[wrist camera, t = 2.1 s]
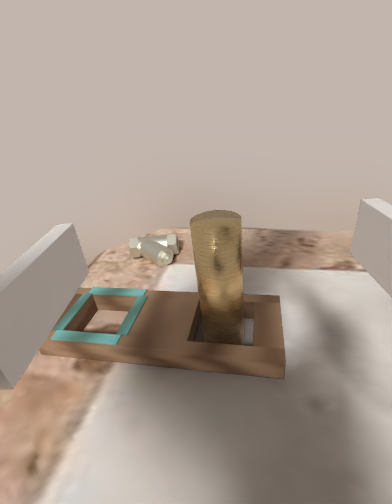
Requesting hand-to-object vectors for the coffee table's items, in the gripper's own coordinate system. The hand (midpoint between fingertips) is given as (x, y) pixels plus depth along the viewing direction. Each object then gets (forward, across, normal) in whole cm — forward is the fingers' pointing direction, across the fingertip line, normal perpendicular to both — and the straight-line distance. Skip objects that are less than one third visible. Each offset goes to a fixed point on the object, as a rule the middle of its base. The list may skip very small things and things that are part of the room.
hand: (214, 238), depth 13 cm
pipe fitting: (+29, -10, -18) cm, 35 cm away
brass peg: (+11, 0, -17) cm, 20 cm away
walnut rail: (+12, -6, -17) cm, 22 cm away
